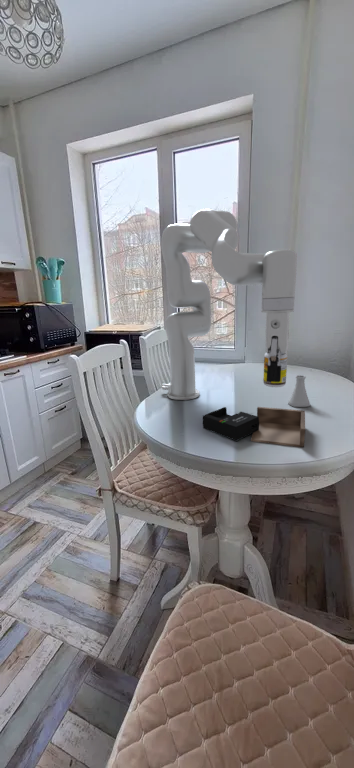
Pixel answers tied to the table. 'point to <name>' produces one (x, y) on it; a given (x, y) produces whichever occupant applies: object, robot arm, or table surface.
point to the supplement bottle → (283, 371)
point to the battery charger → (231, 423)
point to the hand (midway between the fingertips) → (274, 377)
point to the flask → (299, 393)
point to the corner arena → (280, 426)
